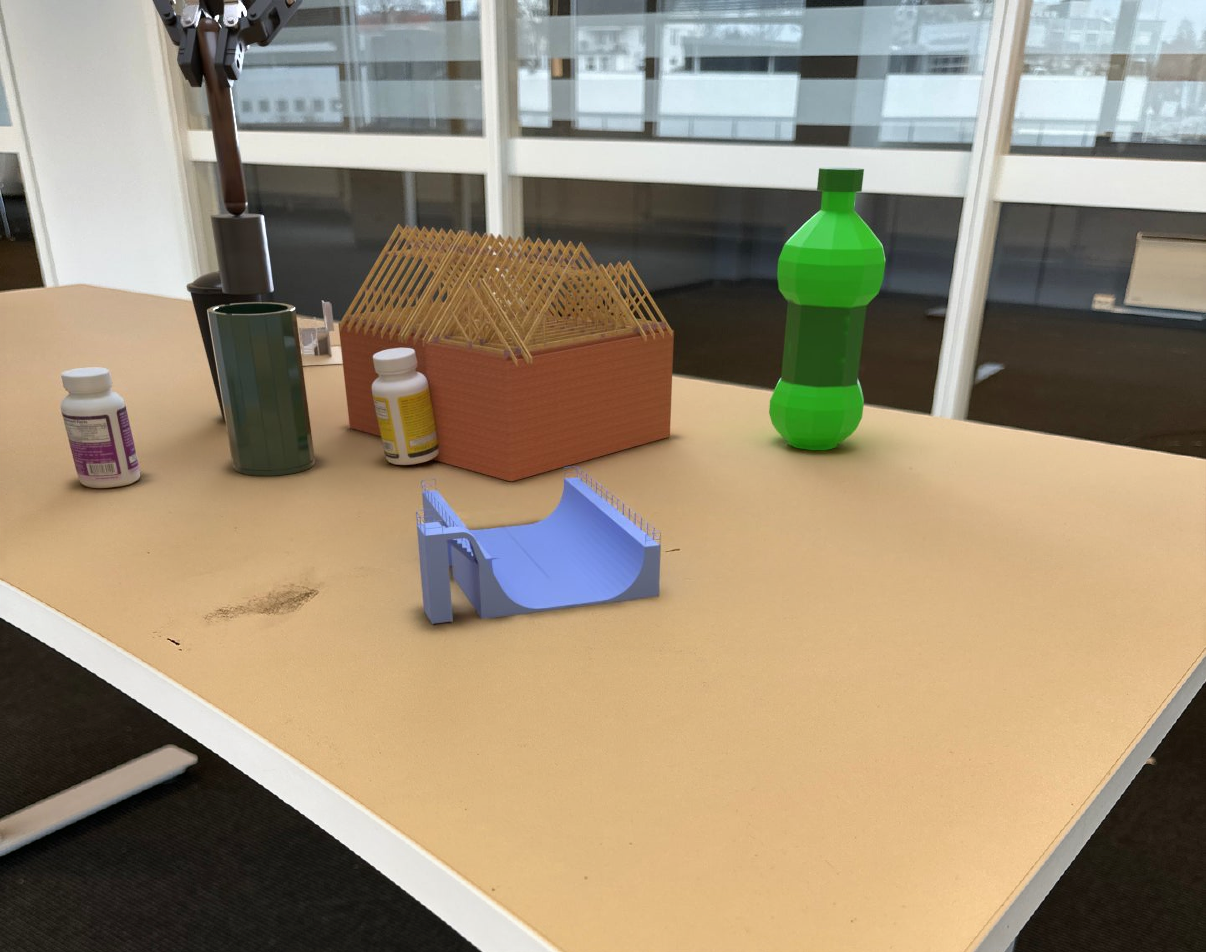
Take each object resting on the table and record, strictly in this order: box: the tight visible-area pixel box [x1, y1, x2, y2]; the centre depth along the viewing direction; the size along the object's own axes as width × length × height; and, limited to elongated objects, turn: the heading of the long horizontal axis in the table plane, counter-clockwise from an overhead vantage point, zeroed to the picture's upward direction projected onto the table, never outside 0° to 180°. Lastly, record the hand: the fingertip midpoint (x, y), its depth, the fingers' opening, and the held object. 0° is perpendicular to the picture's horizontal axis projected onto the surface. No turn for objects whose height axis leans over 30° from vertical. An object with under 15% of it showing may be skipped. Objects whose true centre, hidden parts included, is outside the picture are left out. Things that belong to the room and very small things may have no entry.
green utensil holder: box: [207, 301, 315, 477], centre depth 104 cm, size 8×8×14 cm
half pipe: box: [415, 466, 662, 626], centre depth 83 cm, size 18×16×7 cm
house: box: [338, 223, 675, 482], centre depth 114 cm, size 28×23×19 cm
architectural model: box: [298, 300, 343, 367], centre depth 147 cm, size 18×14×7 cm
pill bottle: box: [60, 366, 141, 489], centre depth 100 cm, size 5×5×10 cm
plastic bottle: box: [768, 167, 886, 451], centre depth 110 cm, size 10×10×25 cm
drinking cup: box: [186, 214, 262, 422], centre depth 119 cm, size 8×8×20 cm
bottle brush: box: [197, 17, 275, 295], centre depth 94 cm, size 4×4×20 cm
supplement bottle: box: [372, 348, 439, 466], centre depth 107 cm, size 5×5×10 cm
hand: (207, 78), depth 89 cm, fingers closed on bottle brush, 2 cm apart
